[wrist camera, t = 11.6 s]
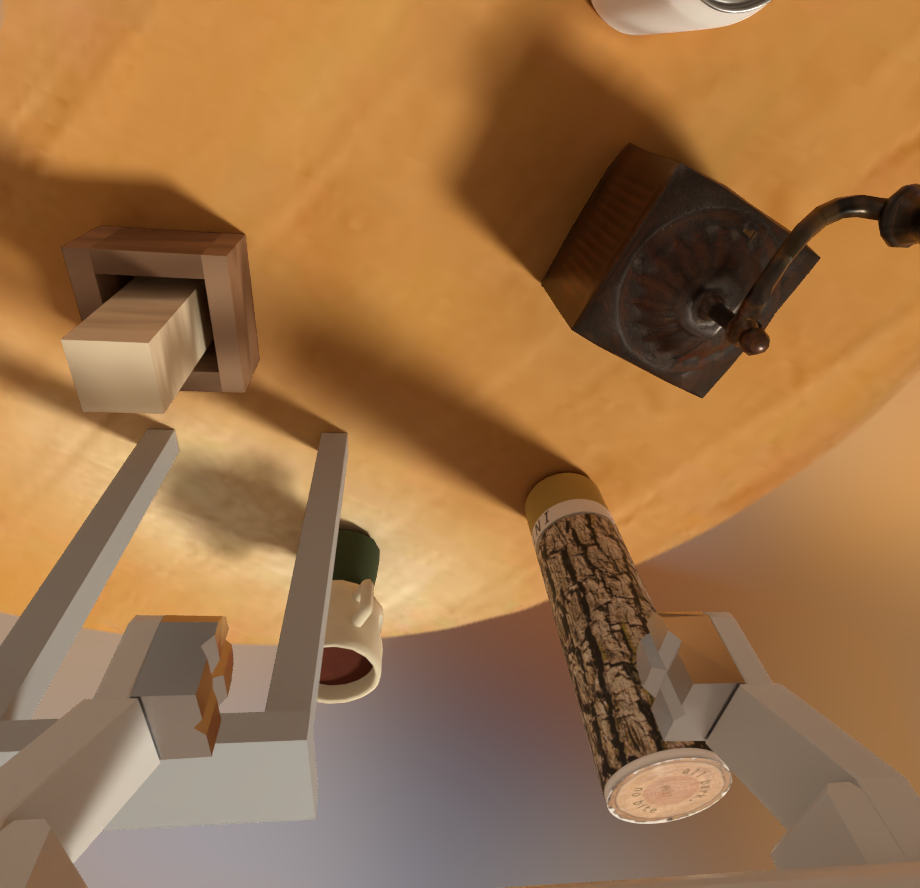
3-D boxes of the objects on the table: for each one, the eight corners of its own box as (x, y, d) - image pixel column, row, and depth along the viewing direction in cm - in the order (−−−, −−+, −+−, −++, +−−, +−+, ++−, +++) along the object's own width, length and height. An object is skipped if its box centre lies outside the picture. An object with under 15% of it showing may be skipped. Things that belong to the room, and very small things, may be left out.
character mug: (352, 599, 57) (341, 727, 46) (282, 574, 54) (254, 703, 43) (409, 524, 52) (413, 645, 41) (337, 493, 50) (320, 614, 39)
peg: (148, 266, 38) (60, 339, 28) (212, 269, 39) (148, 343, 29) (160, 324, 40) (82, 411, 30) (221, 327, 41) (164, 413, 31)
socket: (99, 225, 37) (60, 247, 33) (245, 234, 38) (226, 256, 34) (130, 355, 41) (100, 388, 37) (259, 359, 42) (244, 392, 38)
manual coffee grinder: (657, 348, 45) (787, 494, 30) (535, 284, 41) (614, 413, 26) (806, 147, 38) (1074, 206, 23) (676, 50, 34) (893, 43, 19)
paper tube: (594, 460, 50) (733, 745, 29) (602, 518, 54) (731, 808, 33) (516, 479, 51) (599, 774, 30) (530, 536, 54) (612, 833, 33)
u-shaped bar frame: (130, 388, 43) (-172, 758, 20) (353, 394, 45) (306, 740, 22) (147, 456, 46) (-97, 841, 23) (354, 459, 48) (315, 819, 25)
